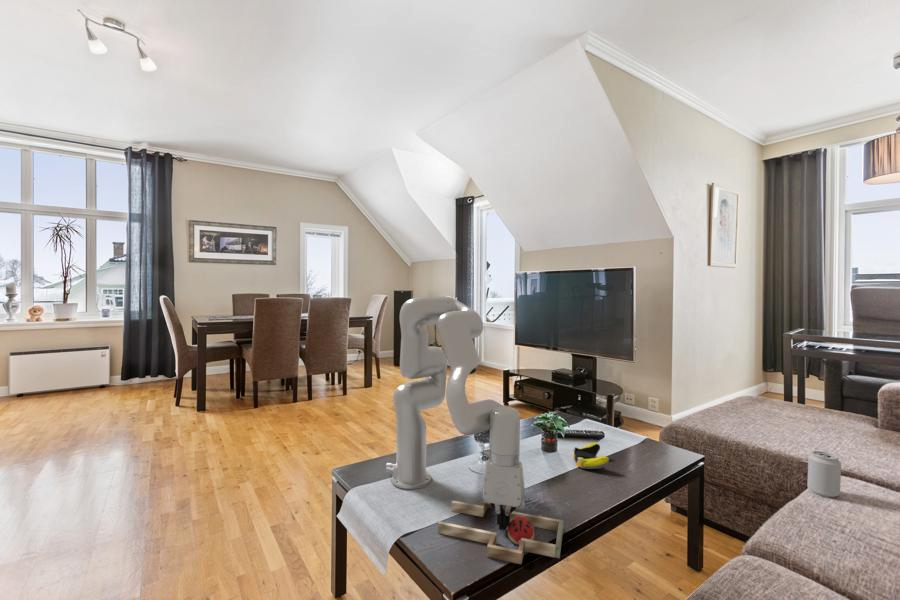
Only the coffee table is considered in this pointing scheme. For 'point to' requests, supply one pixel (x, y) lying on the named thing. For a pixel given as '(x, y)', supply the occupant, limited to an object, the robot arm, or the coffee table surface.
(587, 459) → the banana bunch
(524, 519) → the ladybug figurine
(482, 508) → the trap channel
